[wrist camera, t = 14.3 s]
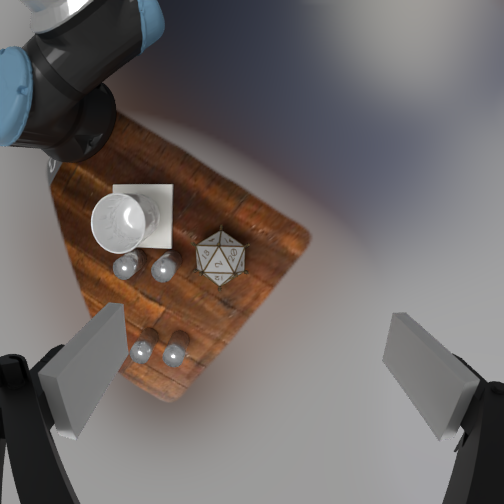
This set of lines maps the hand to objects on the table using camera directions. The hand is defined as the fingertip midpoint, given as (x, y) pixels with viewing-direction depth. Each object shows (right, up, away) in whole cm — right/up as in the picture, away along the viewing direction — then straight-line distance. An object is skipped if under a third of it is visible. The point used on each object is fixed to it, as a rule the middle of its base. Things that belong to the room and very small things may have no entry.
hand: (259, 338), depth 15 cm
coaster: (-18, +10, +35) cm, 40 cm away
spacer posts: (-16, -4, +38) cm, 41 cm away
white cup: (-18, +10, +34) cm, 40 cm away
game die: (-5, +4, +37) cm, 37 cm away
